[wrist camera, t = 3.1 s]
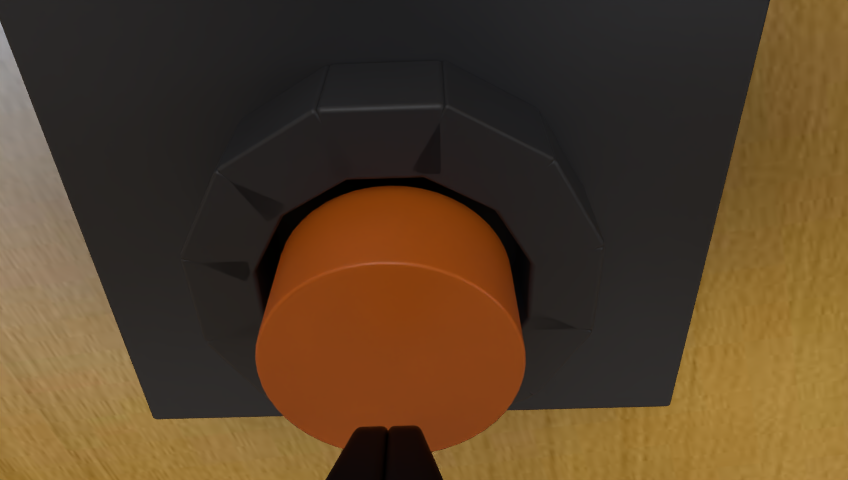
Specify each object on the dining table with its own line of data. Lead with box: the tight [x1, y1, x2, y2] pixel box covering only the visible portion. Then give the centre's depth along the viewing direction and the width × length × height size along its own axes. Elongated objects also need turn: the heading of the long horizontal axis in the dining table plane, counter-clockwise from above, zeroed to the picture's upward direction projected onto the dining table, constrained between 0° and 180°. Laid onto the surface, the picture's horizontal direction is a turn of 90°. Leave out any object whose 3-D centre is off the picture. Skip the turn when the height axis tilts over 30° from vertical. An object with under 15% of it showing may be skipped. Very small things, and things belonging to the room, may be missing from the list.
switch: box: [255, 186, 526, 452], centre depth 11 cm, size 4×4×2 cm
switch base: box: [0, 0, 770, 419], centre depth 13 cm, size 12×10×4 cm
